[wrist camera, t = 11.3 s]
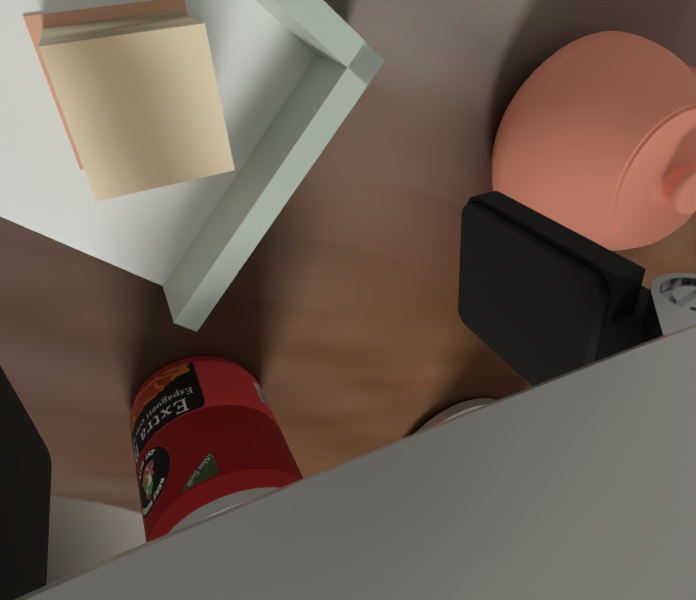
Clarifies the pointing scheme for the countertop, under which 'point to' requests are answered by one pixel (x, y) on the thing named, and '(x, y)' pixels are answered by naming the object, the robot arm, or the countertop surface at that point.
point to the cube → (139, 100)
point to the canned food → (204, 443)
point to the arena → (199, 194)
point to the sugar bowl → (604, 140)
